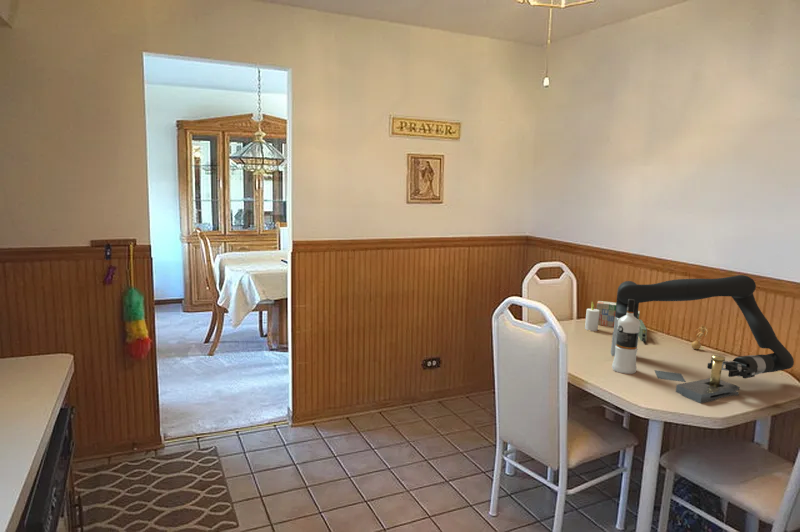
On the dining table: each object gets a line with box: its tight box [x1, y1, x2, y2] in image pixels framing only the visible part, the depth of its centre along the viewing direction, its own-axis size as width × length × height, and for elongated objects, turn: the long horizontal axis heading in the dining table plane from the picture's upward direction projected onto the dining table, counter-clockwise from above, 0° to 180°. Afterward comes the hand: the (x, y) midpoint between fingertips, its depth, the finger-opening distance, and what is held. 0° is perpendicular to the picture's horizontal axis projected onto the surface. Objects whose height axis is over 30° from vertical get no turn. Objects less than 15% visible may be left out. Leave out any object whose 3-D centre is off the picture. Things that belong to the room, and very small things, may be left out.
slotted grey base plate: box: [675, 377, 740, 404], centre depth 199 cm, size 21×10×3 cm, turn 115°
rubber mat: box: [654, 369, 687, 383], centre depth 216 cm, size 10×10×1 cm
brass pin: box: [709, 354, 726, 388], centre depth 200 cm, size 4×4×14 cm
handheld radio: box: [638, 319, 648, 345], centre depth 271 cm, size 7×3×25 cm
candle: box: [584, 301, 599, 332], centre depth 282 cm, size 6×6×15 cm
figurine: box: [691, 324, 709, 350], centre depth 254 cm, size 8×6×12 cm
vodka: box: [611, 299, 640, 375], centre depth 219 cm, size 9×9×30 cm
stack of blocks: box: [596, 300, 640, 328], centre depth 291 cm, size 21×6×12 cm, turn 63°
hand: (718, 369), depth 200 cm, fingers open, 8 cm apart
